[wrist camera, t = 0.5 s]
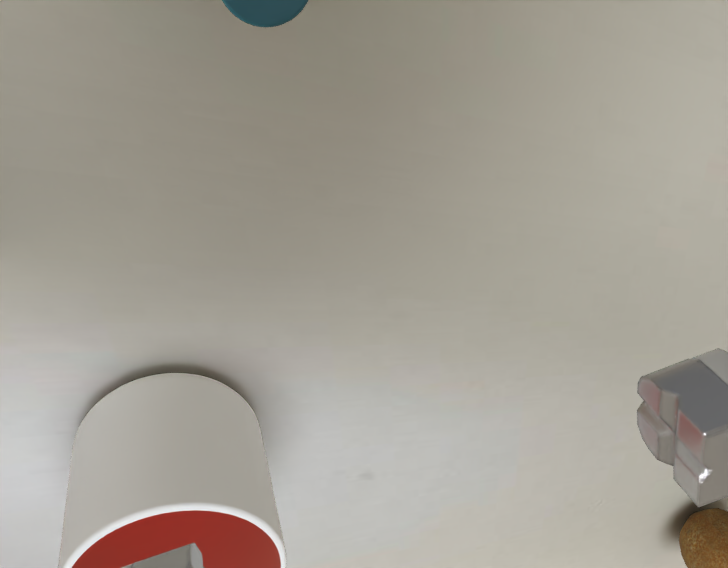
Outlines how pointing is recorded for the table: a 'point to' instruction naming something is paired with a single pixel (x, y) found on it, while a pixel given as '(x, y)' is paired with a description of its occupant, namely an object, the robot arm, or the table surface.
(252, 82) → the table surface
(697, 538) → the fruit
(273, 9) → the marker
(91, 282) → the table surface
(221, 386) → the cup
